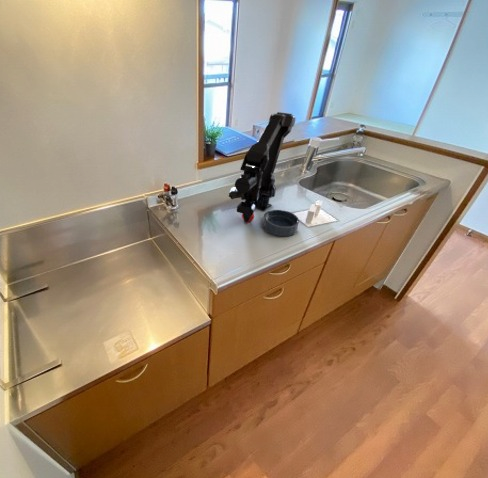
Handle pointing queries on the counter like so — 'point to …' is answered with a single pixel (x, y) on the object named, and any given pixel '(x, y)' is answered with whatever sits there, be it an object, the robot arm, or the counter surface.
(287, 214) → the bowl
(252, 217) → the tomato
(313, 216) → the napkin holder
